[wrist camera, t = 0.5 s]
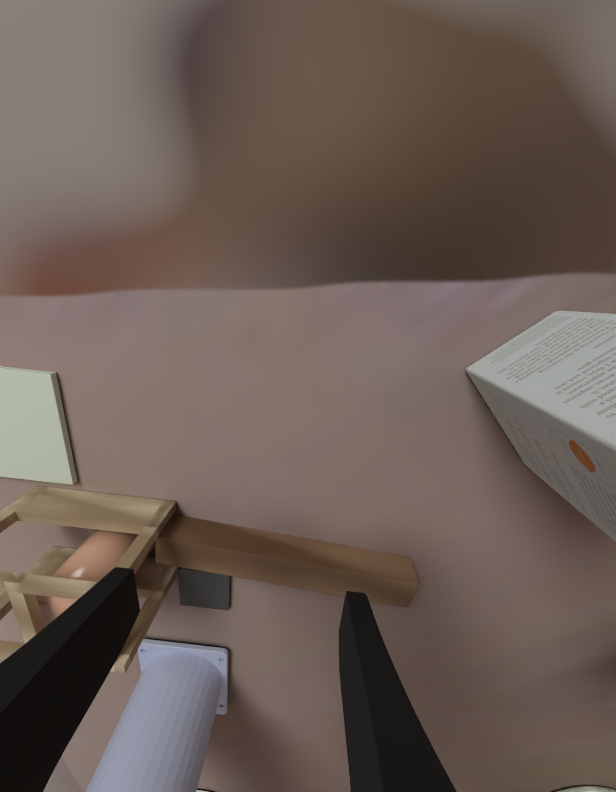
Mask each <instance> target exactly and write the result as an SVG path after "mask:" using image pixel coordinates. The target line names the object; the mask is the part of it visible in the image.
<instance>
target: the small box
mask: <svg viewBox="0 0 616 792" xmlns="http://www.w3.org/2000/svg"><path fill="white" fill-rule="evenodd" d="M466 372H467V374H468V375H469V377H470V378H471V380H472V381H473V383H474V384H475V386H476V388H477V389H478V391H479V392H480V394H481V396H482V397H483V399H484V400H485V402H486V403H487V405H488V407H489V408H490V410H491V411H492V413H493V415H494V416H495V418H496V419H497V421H498V423H499V424H500V426H501V427H502V429H503V431H504V432H505V434H506V435H507V437H508V438H509V440H510V442H511V443H512V445H513V446H514V448H515V450H516V451H517V453H518V454H519V456H520V458H521V459H522V461H523V463H524V464H525V465H526V466H527V467H528V468H529V469H530V470H532V471H533V472H534V473H535V474H536V475H537V476H539V477H540V478H541V479H542V480H543V481H544V482H546V483H547V484H548V485H549V486H550V487H551V488H553V489H554V490H555V491H556V492H557V493H558V494H560V495H561V496H562V497H563V498H564V499H566V500H567V501H568V502H569V503H570V504H571V505H573V506H574V507H575V508H576V509H577V510H578V511H580V512H581V513H582V514H583V515H584V516H586V517H587V518H588V519H589V520H590V521H591V522H593V523H594V524H595V525H596V526H597V527H599V528H600V529H601V530H602V531H603V532H605V533H606V534H607V535H608V536H609V537H610V538H612V539H613V540H614V541H615V542H616V314H606V313H589V312H573V311H556V312H554V313H552V314H551V315H549V316H548V317H546V318H545V319H543V320H542V321H540V322H538V323H537V324H535V325H534V326H532V327H530V328H529V329H527V330H526V331H524V332H522V333H521V334H519V335H518V336H516V337H515V338H513V339H511V340H510V341H508V342H507V343H505V344H504V345H502V346H500V347H499V348H497V349H496V350H494V351H493V352H491V353H489V354H488V355H486V356H485V357H483V358H482V359H480V360H479V361H477V362H475V363H474V364H472V365H471V366H469V367H468V368H466Z"/></svg>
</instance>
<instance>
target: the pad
mask: <svg viewBox="0 0 616 792" xmlns="http://www.w3.org/2000/svg"><path fill="white" fill-rule="evenodd" d="M0 477H9V478H18V479H27V480H36V481H45V482H54V483H63V484H71V485H73V484H74V483H76V482H77V476H76V471H75V466H74V461H73V456H72V451H71V446H70V441H69V436H68V431H67V425H66V420H65V415H64V410H63V405H62V400H61V395H60V390H59V385H58V380H57V375H56V372H48V371H39V370H30V369H21V368H12V367H2V366H0Z"/></svg>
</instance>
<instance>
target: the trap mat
mask: <svg viewBox="0 0 616 792" xmlns="http://www.w3.org/2000/svg"><path fill="white" fill-rule="evenodd" d="M178 573H179V588H180V603H181V605H187V606H196V607H204V608H213V609H222V610H229V608H230V576H228V575H222V574H217V573H211V572H206V571H200V570H194V569H189V568H183V567H179V568H178Z"/></svg>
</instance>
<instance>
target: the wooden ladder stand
mask: <svg viewBox="0 0 616 792" xmlns="http://www.w3.org/2000/svg"><path fill="white" fill-rule="evenodd" d="M175 511H176V501H168V500H159V499H150V498H141V497H133V496H124V495H115V494H106V493H97V492H88V491H79V490H70V489H61V488H52V487H44V486H37V487H36V488H34V489H33V490H31V491H30V492H28V493H27V494H25V495H24V496H22V497H21V498H19V499H18V500H17V501H15V502H14V503H12V504H11V505H9V506H8V507H6V508H5V509H3V510H2V511H0V533H1V532H2V531H3V530H5V529H6V528H8V527H9V526H10V525H12V524H13V523H14V522H16V521H17V520H18V521H26V522H35V523H44V524H53V525H62V526H71V527H79V528H88V529H97V530H106V531H115V532H123V533H132V534H139V535H138V536H137V537H136V539H135V540H134V541H133V543H132V544H131V545H130V547H129V548H128V549H127V551H126V552H125V553H124V555H123V556H122V557H121V559H120V560H119V561H118V563H117V564H116V565H115V566H114V568H115V567H121V568H131V569H134V572H135V570H136V569H137V567H138V566H139V564H140V563H141V561H142V560H143V558H144V557H145V555H146V554H147V552H148V551H149V549H150V548H151V546H152V545H153V543H154V542H155V540H156V539H157V537H158V536H159V534H160V533H161V531H162V530H163V528H164V527H165V525H166V524H167V522H168V521H169V519H170V518H171V517H172V515H173V514H174V512H175ZM76 550H77V549H72V548H63V547H54V546H53V547H52V548H51V549H50V550H49V551H48V552H47V553H46V554H45V555H44V556H43V557H42V558H41V559H40V560H38V561H37V562H36V563H35V564H34V565H33V566H32V567H31V568H30V569H29V570H28V571H27V572H26V573H25V574H24V573H15V572H6V571H0V591H6V592H5V593H3V594H2V595H1V596H0V620H1V619H2V618H3V617H4V616H5V615H6V614H7V613H8V612H9V611H10V610H11V609H12V608H13V610H14V613H15V616H16V619H17V622H18V624H19V627H20V630H21V633H22V636H23V639H24V642H25V643H27V642H28V641H29V640H30V639H31V638H33V637H34V636H35V635H36V634H38V633H39V632H40V631H41V630H42V629H43V628H45V625H44V622H43V619H42V615H41V612H40V609H39V605H38V602H37V599H36V595H42V596H51V597H59V598H68V599H77V600H78V599H79V598H80V597H81V596H82V595H84V594H85V593H86V592H87V591H88V590H89V589H90V588H92V587H93V586H94V585H95V584H96V583H97V582H93V581H85V580H76V579H67V578H59V577H51V576H52V575H53V574H54V573H55V572H56V571H57V570H58V569H59V568H60V567H61V566H62V565H63V563H64V562H65V561H66V560H67V559H68V558H69V557H70V556H71V555H72V554H73V553H74V552H75V551H76ZM114 568H113V569H114ZM178 568H179V567H177V566H172V565H166V564H161V563H155V558H151V557H147V558H146V559H145V561H144V562H143V564H142V565H141V567H140V568H139V570H138V571H137V573H136V574H135V582H136V588H137V595H138V596H144V597H148V598H147V600H146V602H145V604H144V605H143V607H142V609H141V611H140V612H139V614H138V617H137V619H136V621H135V623H134V626H133V628H132V630H131V632H130V634H129V636H128V639H127V641H126V643H125V645H124V647H123V649H122V651H121V653H120V654H119V656H118V658H117V660H116V662H115V663H114V665H113V667H112V669H111V670H110V672H117V673H126V671H127V669H128V667H129V665H130V664H131V662H132V660H133V658H134V656H135V654H136V652H137V650H138V648H139V646H140V644H141V642H142V640H143V638H144V636H145V634H146V633H147V631H148V629H149V627H150V625H151V623H152V621H153V619H154V617H155V615H156V613H157V611H158V609H159V607H160V605H161V603H162V602H163V600H164V598H165V596H166V594H167V592H168V590H169V588H170V586H171V584H172V582H173V580H174V578H175V576H176V574H177V572H178ZM113 569H112V570H113ZM25 643H19V642H10V641H2V640H0V659H6V658H8V657H9V656H10V655H11V654H13V653H14V652H15V651H17V650H18V649H19V648H20V647H22V646H23V645H24V644H25Z"/></svg>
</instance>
